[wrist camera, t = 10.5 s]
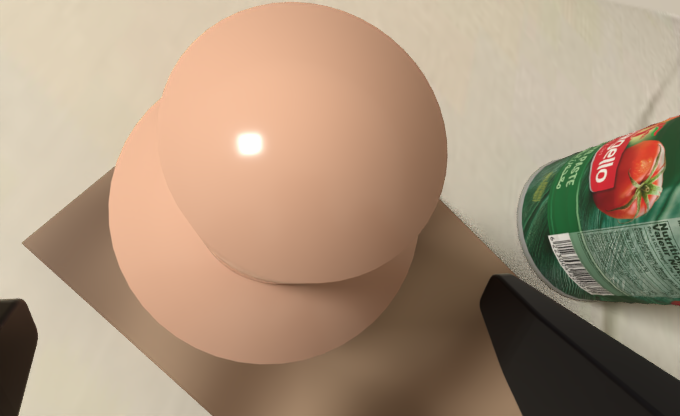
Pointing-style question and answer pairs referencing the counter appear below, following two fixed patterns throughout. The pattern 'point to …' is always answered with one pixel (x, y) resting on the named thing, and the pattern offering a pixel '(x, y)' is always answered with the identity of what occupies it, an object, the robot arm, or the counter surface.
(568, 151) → the counter surface
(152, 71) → the counter surface
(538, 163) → the counter surface
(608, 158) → the canned tomato
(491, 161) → the counter surface
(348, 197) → the pink bottle
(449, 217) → the walnut board
